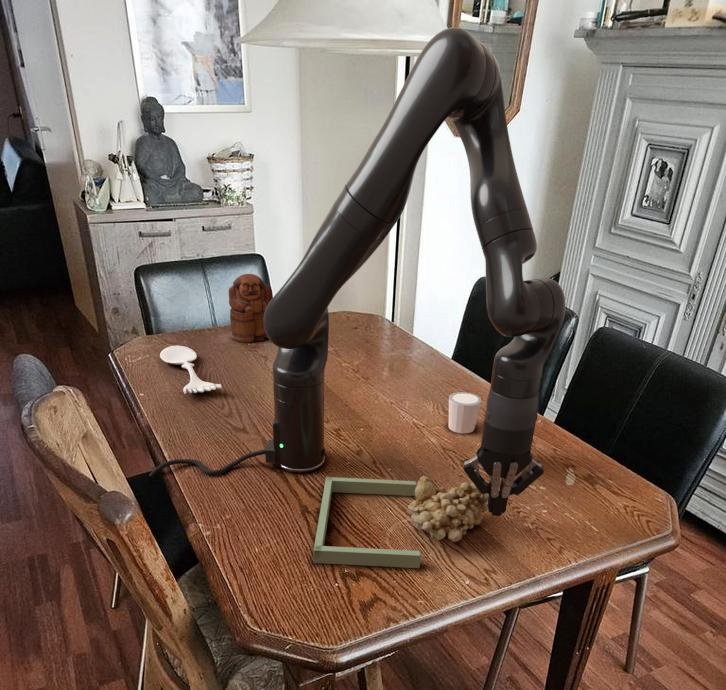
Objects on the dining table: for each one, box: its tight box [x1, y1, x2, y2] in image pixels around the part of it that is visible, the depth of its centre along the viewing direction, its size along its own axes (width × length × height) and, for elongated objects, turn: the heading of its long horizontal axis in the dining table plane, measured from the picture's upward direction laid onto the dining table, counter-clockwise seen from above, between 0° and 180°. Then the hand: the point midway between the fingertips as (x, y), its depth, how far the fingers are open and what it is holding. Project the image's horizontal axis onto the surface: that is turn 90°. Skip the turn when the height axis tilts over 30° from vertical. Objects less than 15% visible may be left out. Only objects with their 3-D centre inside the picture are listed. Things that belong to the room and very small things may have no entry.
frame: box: [313, 476, 422, 569], centre depth 104 cm, size 16×21×2 cm
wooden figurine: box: [228, 273, 274, 343], centre depth 176 cm, size 12×6×18 cm, turn 115°
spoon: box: [159, 345, 223, 395], centre depth 155 cm, size 9×32×4 cm, turn 26°
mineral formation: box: [407, 475, 489, 543], centre depth 103 cm, size 8×13×15 cm
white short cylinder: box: [447, 391, 482, 435], centre depth 135 cm, size 7×7×7 cm
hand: (495, 513), depth 103 cm, fingers closed
